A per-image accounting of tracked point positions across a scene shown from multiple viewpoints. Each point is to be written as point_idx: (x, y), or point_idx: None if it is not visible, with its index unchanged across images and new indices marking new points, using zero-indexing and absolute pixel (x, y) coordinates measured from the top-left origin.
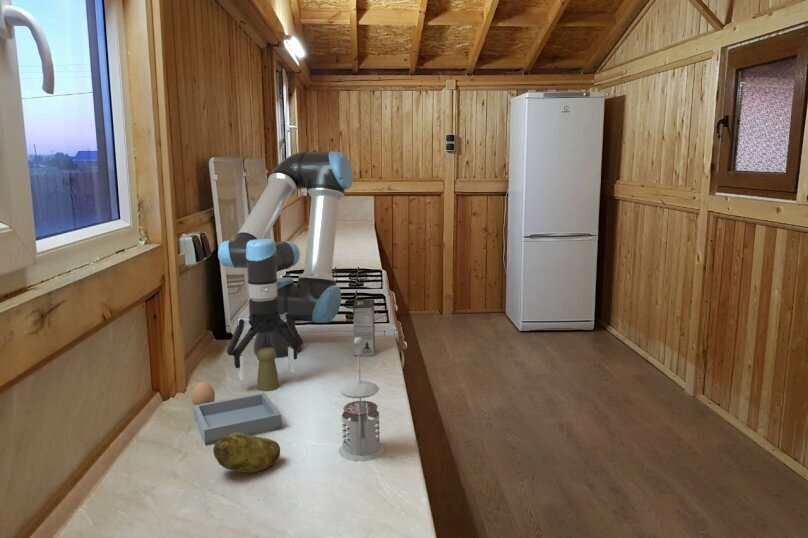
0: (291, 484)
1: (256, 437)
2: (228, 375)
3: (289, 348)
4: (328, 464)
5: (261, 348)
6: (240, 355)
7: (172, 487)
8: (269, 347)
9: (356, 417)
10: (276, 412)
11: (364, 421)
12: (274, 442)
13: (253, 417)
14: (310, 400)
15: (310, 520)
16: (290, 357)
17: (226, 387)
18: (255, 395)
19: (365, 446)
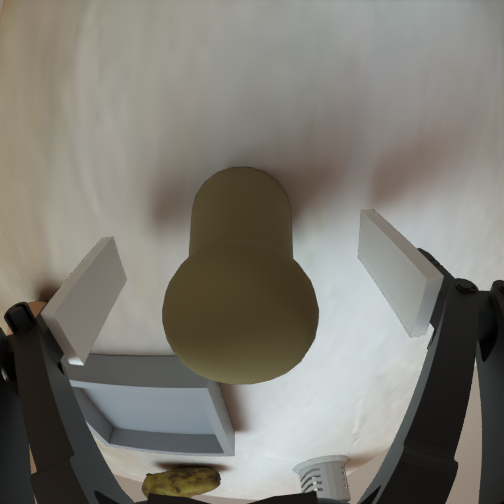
0: (226, 482)
1: (190, 494)
2: (91, 21)
3: (417, 315)
4: (272, 475)
5: (198, 336)
6: (63, 343)
7: (108, 456)
8: (272, 344)
9: (331, 487)
10: (227, 451)
11: (340, 481)
12: (213, 489)
13: (180, 408)
14: (338, 358)
15: (233, 495)
16: (389, 291)
17: (76, 160)
18: (180, 394)
19: (317, 483)
